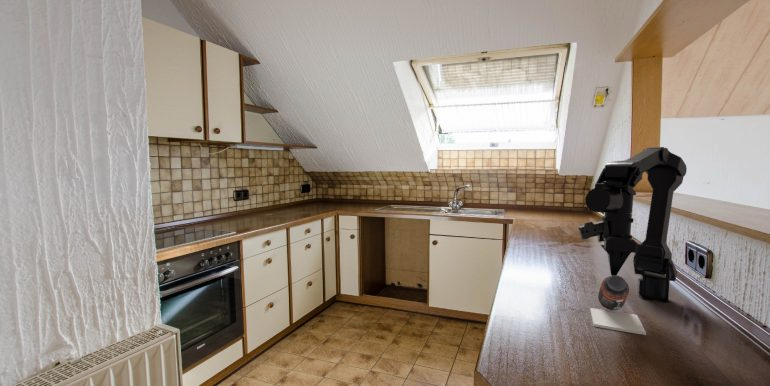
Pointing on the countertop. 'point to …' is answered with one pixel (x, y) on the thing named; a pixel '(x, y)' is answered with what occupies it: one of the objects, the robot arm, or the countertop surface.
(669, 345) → the countertop surface
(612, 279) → the supplement bottle
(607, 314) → the mat
